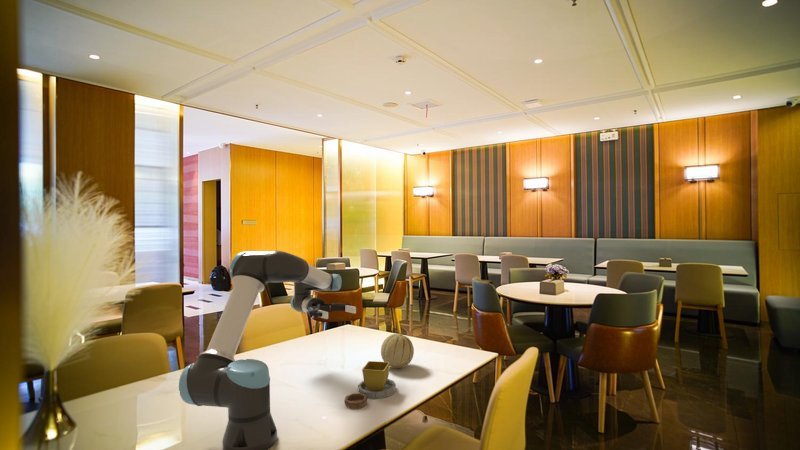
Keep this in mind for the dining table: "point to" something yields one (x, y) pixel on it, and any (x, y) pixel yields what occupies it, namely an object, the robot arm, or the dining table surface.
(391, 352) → the cantaloupe
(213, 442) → the dining table surface
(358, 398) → the brown octagonal saucer
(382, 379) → the flower pot
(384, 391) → the grey saucer
